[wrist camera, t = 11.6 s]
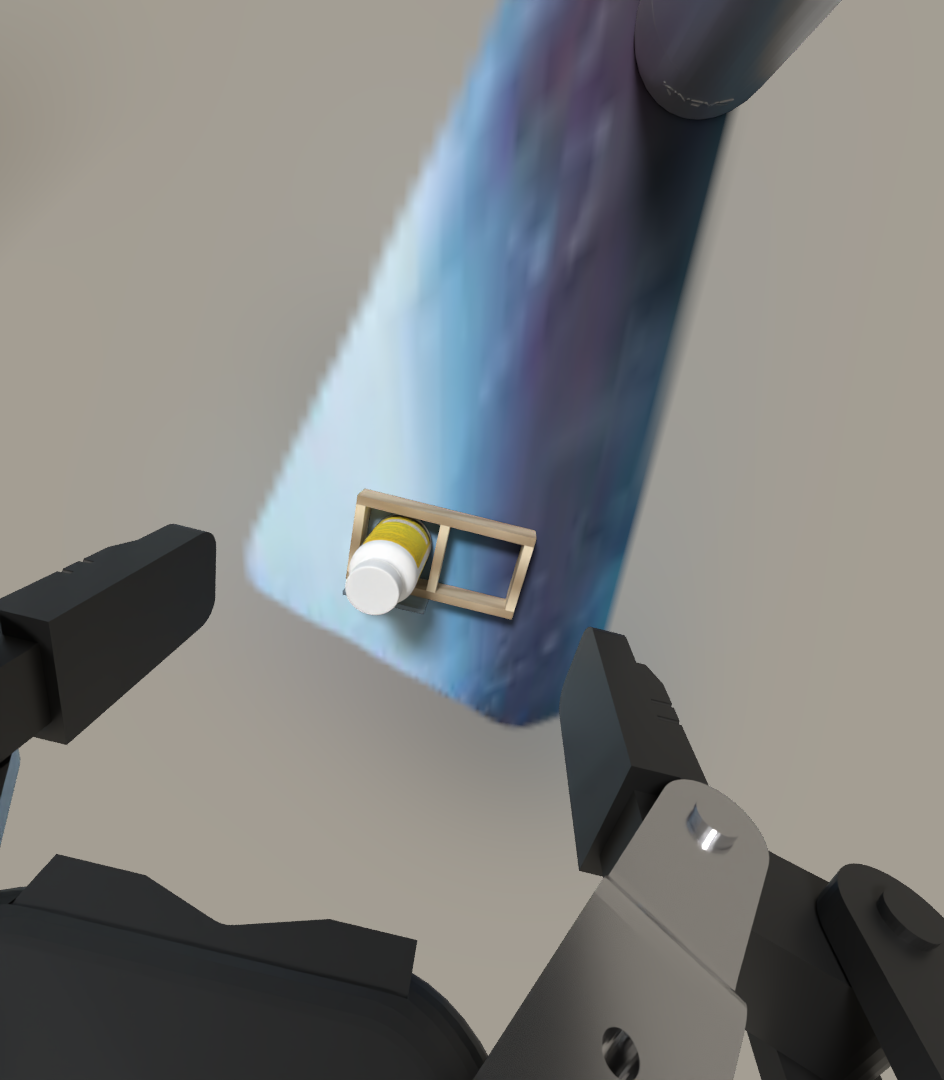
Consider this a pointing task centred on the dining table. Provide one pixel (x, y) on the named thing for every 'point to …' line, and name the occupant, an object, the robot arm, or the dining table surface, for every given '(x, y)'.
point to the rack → (446, 520)
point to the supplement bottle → (388, 564)
